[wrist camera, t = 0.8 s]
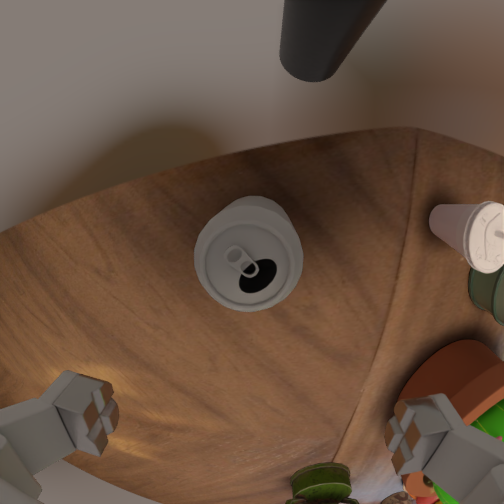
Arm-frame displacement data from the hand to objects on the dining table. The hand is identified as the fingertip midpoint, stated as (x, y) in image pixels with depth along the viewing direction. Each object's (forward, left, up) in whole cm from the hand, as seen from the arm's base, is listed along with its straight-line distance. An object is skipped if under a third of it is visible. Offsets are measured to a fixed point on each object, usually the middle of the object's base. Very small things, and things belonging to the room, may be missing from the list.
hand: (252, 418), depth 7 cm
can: (0, -1, -24) cm, 24 cm away
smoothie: (-3, +20, -24) cm, 32 cm away
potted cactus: (+21, +29, -24) cm, 43 cm away
